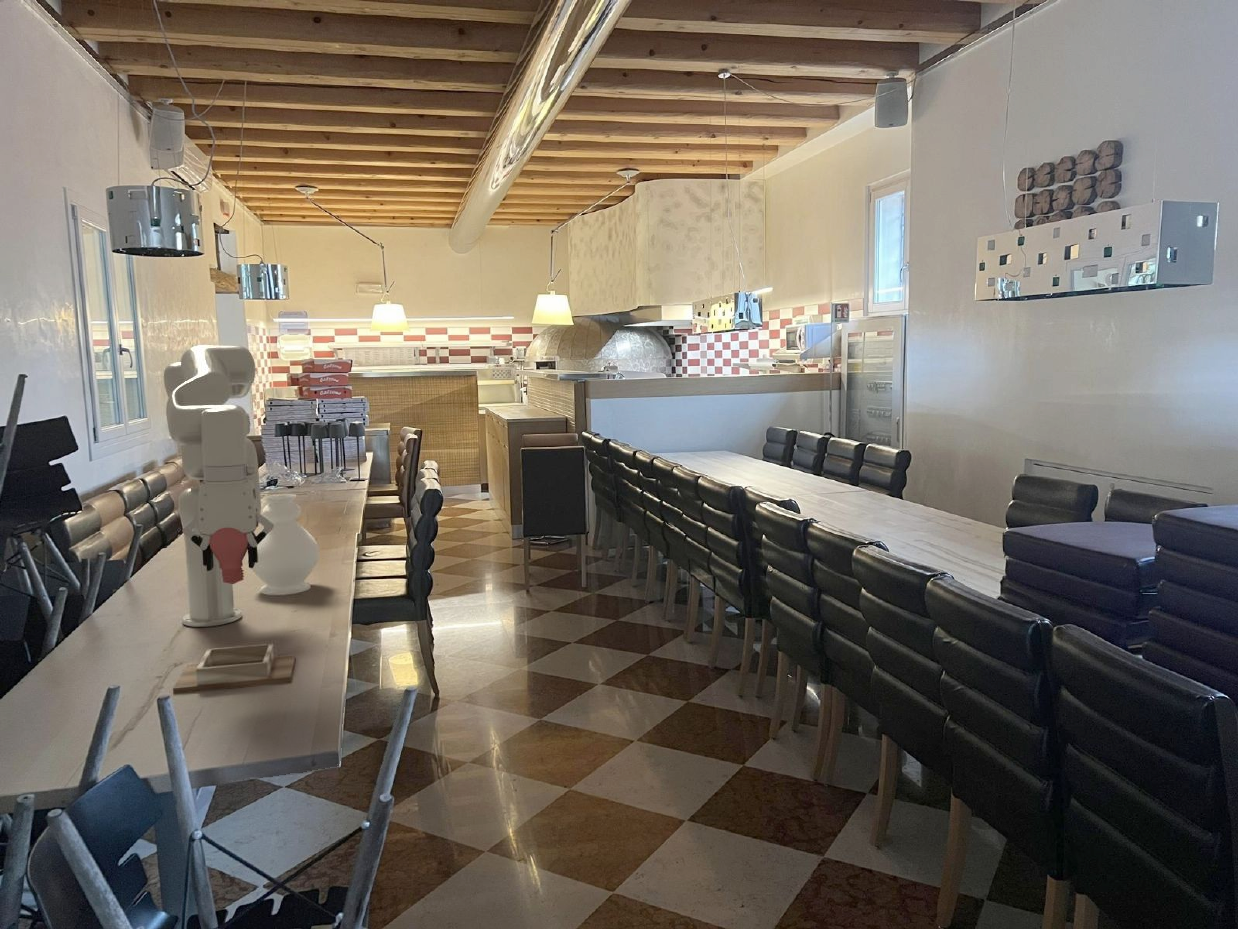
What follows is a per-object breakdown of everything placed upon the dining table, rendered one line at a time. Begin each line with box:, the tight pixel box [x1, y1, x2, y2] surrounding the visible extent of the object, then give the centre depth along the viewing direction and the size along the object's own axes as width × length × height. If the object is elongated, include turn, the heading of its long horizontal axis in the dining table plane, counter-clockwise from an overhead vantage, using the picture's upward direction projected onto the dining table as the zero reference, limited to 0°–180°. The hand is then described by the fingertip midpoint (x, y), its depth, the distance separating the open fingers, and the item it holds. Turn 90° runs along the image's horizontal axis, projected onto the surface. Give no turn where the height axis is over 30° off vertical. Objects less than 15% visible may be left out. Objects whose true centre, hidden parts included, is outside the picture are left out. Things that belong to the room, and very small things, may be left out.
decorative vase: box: [250, 493, 321, 596], centre depth 233 cm, size 18×18×25 cm
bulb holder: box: [172, 643, 297, 695], centre depth 169 cm, size 13×20×4 cm, turn 106°
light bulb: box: [209, 528, 249, 585], centre depth 166 cm, size 7×7×12 cm
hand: (231, 567), depth 167 cm, fingers closed on light bulb, 6 cm apart
